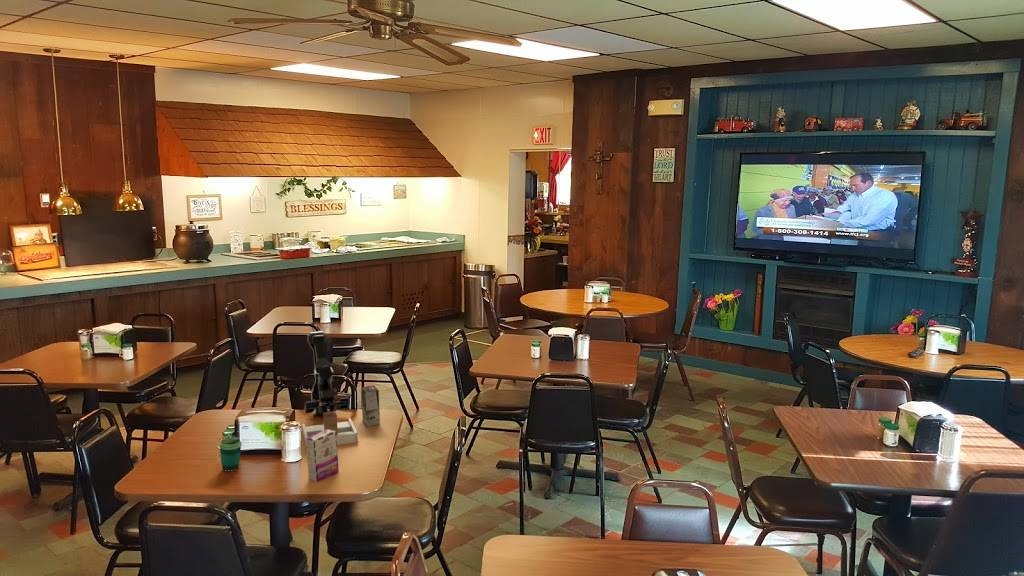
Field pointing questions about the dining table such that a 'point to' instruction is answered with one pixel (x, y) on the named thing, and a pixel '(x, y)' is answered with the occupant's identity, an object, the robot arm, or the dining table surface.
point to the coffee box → (370, 405)
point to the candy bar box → (322, 455)
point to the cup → (230, 453)
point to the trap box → (345, 432)
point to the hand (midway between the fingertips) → (329, 422)
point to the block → (330, 421)
